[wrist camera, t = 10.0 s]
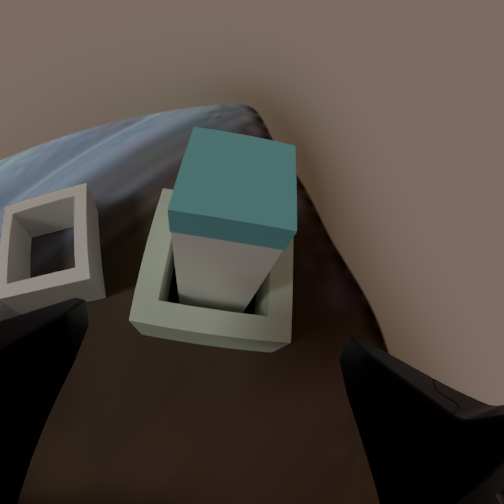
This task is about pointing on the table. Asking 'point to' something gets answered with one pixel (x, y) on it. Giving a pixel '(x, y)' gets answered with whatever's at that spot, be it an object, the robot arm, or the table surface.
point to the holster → (44, 222)
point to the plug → (230, 216)
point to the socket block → (203, 319)
